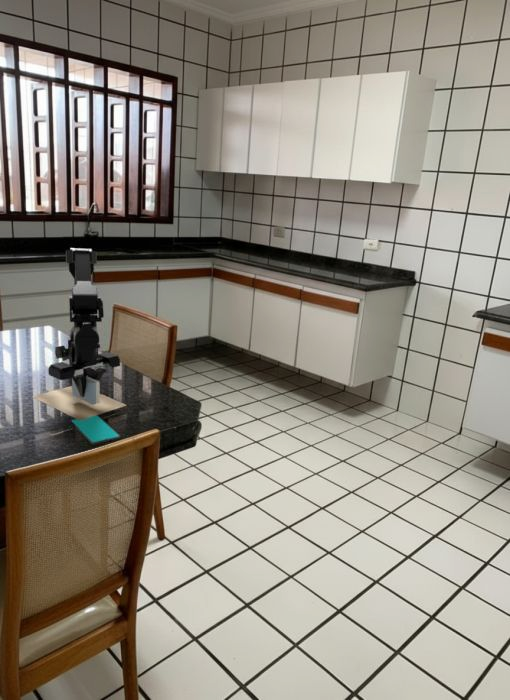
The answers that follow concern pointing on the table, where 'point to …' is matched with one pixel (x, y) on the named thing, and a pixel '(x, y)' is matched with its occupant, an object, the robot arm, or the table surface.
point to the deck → (88, 391)
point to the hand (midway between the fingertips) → (86, 395)
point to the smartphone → (95, 430)
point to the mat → (77, 403)
